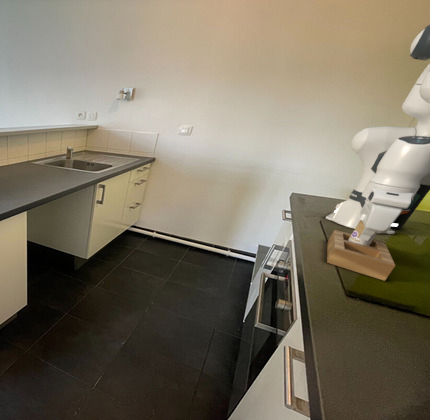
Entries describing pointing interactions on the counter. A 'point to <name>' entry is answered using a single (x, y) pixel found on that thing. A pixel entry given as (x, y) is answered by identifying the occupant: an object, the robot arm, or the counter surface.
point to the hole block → (359, 256)
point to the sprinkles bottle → (357, 232)
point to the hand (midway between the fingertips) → (362, 236)
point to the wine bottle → (411, 206)
